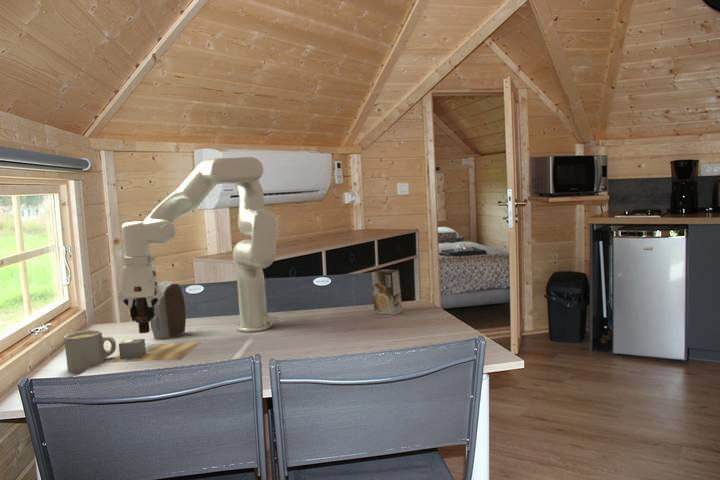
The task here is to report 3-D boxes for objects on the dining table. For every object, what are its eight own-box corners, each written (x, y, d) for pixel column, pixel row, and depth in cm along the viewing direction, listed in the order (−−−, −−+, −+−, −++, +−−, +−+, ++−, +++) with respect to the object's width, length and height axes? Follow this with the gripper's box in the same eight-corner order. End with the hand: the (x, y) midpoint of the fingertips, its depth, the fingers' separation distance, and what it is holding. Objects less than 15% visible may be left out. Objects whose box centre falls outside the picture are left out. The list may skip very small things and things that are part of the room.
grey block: (145, 353, 178) (144, 338, 178) (140, 357, 174) (138, 342, 173) (126, 354, 179) (125, 339, 178) (120, 358, 174) (118, 343, 174)
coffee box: (402, 311, 222) (400, 269, 220) (394, 315, 216) (392, 272, 215) (381, 310, 226) (379, 268, 225) (373, 313, 221) (371, 271, 219)
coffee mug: (65, 374, 167) (61, 340, 166) (70, 364, 176) (67, 332, 175) (115, 367, 170) (112, 334, 170) (118, 358, 180) (115, 326, 179)
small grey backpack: (165, 344, 193) (159, 284, 191) (143, 343, 196) (138, 284, 194) (191, 332, 208) (186, 276, 206) (170, 332, 210) (165, 277, 208)
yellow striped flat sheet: (201, 346, 188) (200, 342, 188) (182, 364, 170) (181, 359, 170) (133, 349, 189) (133, 345, 189) (107, 367, 171) (107, 362, 171)
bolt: (138, 330, 186) (134, 284, 185) (155, 329, 187) (151, 283, 185) (133, 335, 180) (129, 287, 179) (150, 334, 181) (146, 286, 179)
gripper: (169, 258, 185) (173, 315, 186) (116, 261, 185) (121, 317, 187) (160, 261, 177) (165, 321, 179) (105, 264, 178) (111, 323, 180)
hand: (142, 318), depth 183 cm, fingers closed on bolt, 4 cm apart
